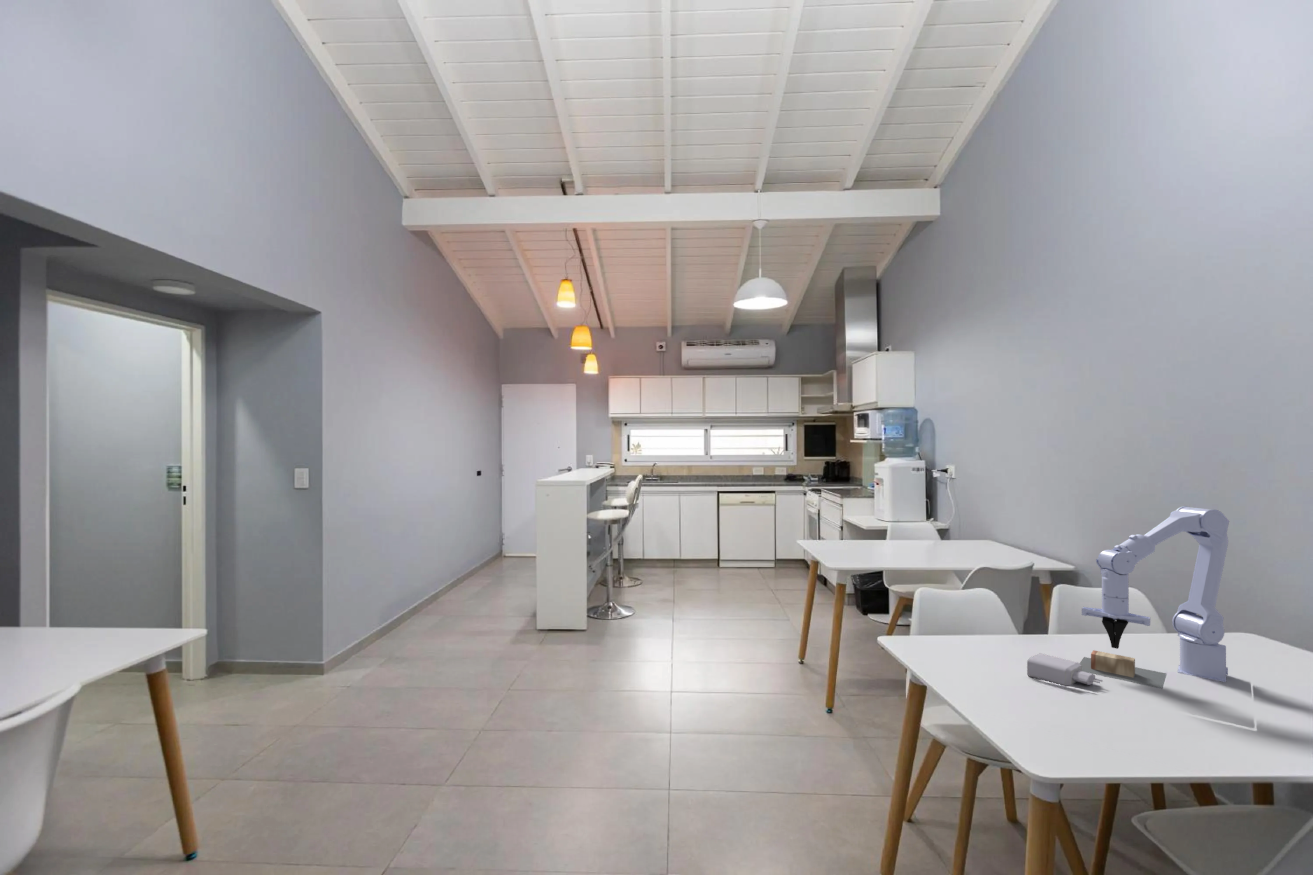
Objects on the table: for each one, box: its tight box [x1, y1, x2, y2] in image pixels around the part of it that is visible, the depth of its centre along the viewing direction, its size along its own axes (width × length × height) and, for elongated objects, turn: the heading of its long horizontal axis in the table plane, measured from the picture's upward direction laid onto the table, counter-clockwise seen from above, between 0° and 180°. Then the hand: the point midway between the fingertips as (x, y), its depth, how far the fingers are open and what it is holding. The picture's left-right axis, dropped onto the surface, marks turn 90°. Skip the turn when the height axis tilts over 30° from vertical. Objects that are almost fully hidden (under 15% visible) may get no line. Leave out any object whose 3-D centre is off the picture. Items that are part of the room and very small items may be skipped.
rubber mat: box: [1078, 656, 1167, 689], centre depth 162 cm, size 18×14×1 cm
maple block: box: [1090, 649, 1136, 677], centre depth 163 cm, size 4×4×9 cm
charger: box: [1026, 652, 1104, 687], centre depth 157 cm, size 5×9×15 cm
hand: (1115, 647), depth 162 cm, fingers closed
